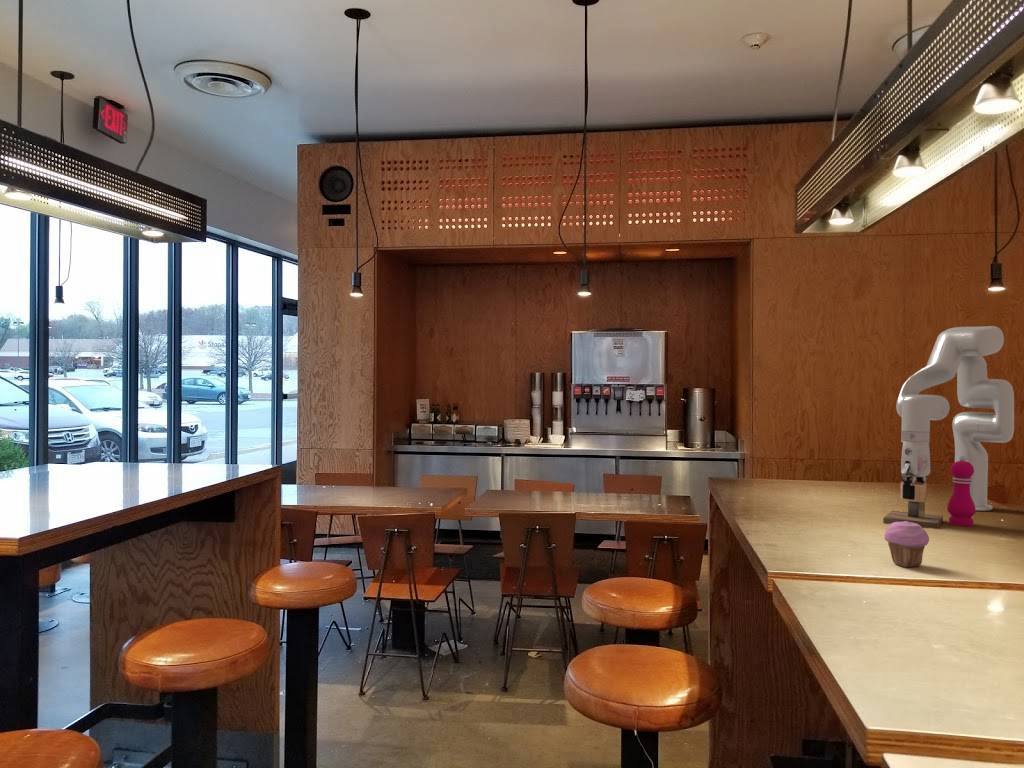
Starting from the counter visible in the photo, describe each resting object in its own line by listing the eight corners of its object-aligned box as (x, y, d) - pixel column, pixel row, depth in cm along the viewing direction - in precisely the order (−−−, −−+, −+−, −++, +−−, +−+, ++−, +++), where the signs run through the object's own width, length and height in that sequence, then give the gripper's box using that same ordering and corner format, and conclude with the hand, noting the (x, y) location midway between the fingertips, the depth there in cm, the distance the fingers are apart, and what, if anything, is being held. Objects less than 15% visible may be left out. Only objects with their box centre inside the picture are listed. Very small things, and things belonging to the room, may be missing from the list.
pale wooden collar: (898, 500, 239) (898, 483, 239) (902, 497, 245) (902, 480, 245) (924, 502, 235) (924, 485, 235) (927, 499, 241) (927, 482, 241)
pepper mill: (980, 526, 233) (982, 457, 233) (954, 526, 233) (956, 456, 233) (966, 522, 240) (968, 454, 240) (942, 521, 240) (943, 454, 240)
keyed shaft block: (891, 515, 250) (892, 483, 250) (942, 520, 243) (943, 487, 243) (883, 522, 237) (883, 488, 237) (937, 528, 229) (938, 493, 229)
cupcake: (903, 570, 177) (904, 525, 177) (875, 561, 186) (876, 518, 186) (936, 568, 180) (937, 523, 180) (907, 560, 188) (908, 517, 188)
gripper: (916, 439, 231) (915, 502, 231) (940, 437, 243) (939, 496, 243) (889, 437, 236) (888, 499, 237) (914, 435, 248) (913, 493, 248)
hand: (914, 497), depth 240 cm, fingers closed on pale wooden collar, 7 cm apart
